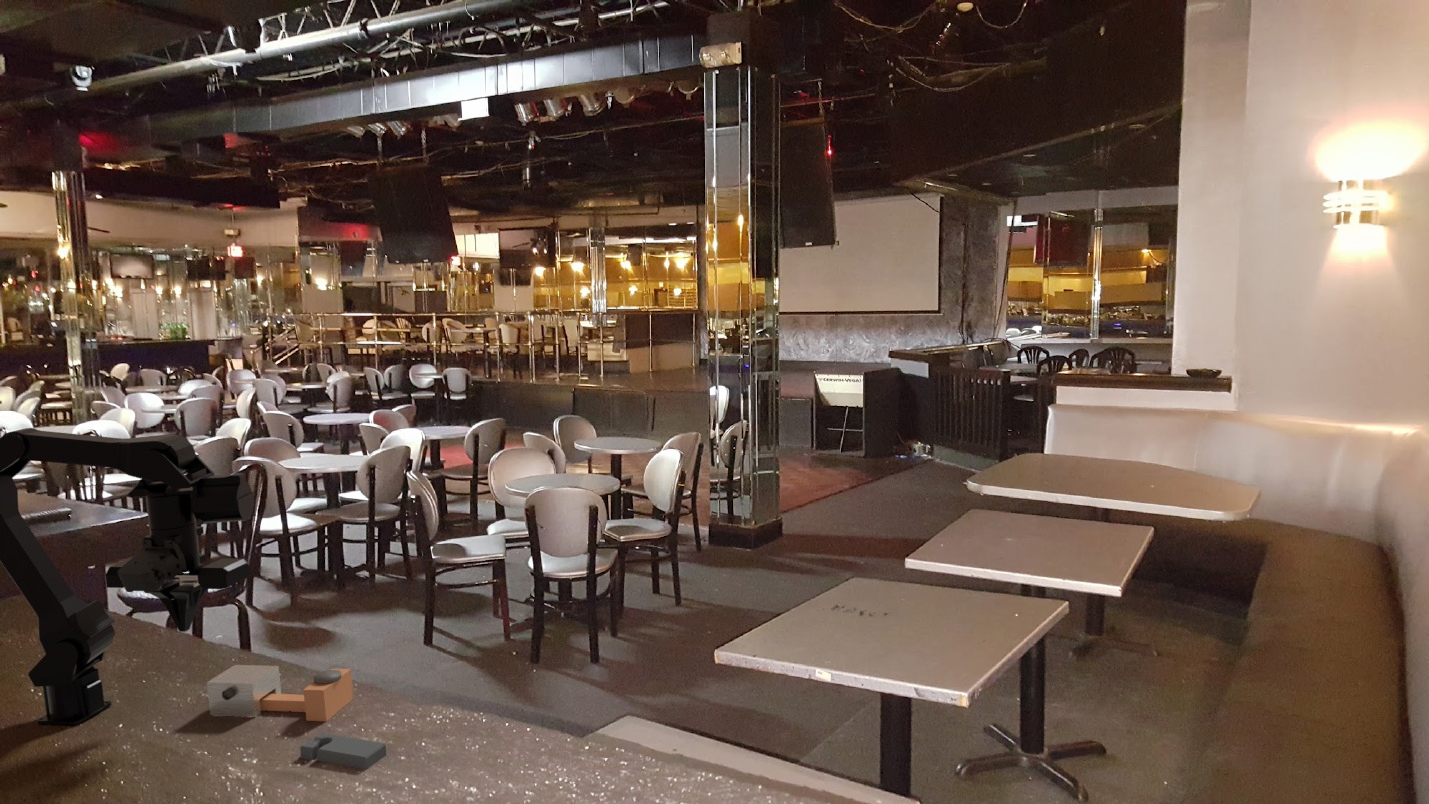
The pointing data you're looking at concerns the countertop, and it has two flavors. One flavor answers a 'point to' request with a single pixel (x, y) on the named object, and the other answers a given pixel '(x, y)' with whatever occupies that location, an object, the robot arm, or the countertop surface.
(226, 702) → the grey cube with knob
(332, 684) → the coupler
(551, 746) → the countertop surface
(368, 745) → the bracket
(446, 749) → the countertop surface
